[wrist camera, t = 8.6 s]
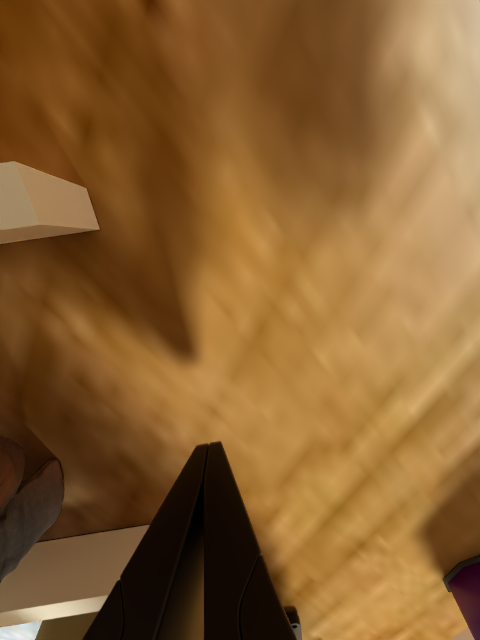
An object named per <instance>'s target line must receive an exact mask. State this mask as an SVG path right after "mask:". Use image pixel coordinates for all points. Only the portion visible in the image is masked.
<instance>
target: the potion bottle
mask: <svg viewBox="0 0 480 640" xmlns="http://www.w3.org/2000/svg"><path fill="white" fill-rule="evenodd" d="M443 581H444V584H445V586H446V588H447V590H448V592H452V594H453V596H454V598H455V600H456V602H457V604H458V606H459V608H460V610H461V612H462V615H463V617H464V619H465V621H466V623H467V625H468V627H469V629H470V631H471V633H472V635H473V637H474V639H475V640H480V556H477V557H475V558H472V559H469V560H466V561H463V562H461V563H459V564H458V565H457V566H456V567H455V568H454V569H453V570H452V571H451V572H450V573H449V574H448V575H447V576H446V577H445V578H444V579H443Z"/></svg>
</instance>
